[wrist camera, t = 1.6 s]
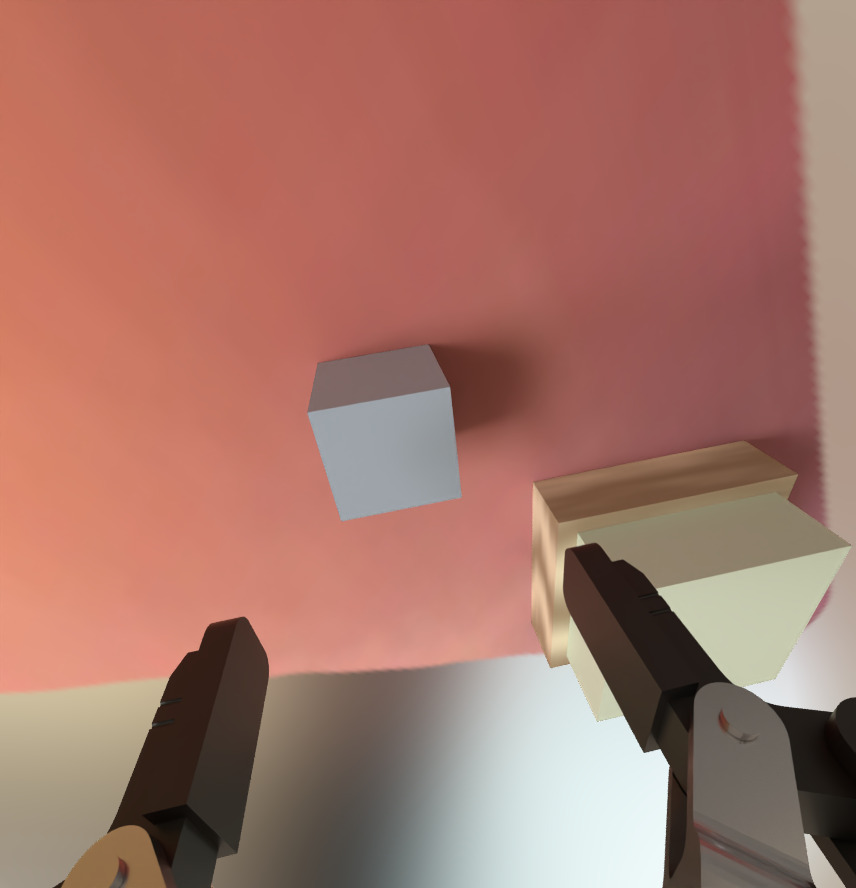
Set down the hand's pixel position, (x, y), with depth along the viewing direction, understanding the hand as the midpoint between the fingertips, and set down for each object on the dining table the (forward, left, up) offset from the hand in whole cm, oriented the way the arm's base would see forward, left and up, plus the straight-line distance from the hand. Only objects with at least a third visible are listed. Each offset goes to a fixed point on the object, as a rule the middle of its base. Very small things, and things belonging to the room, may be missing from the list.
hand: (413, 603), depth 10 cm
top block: (+13, +14, -8) cm, 20 cm away
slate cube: (0, 0, -11) cm, 11 cm away
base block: (+13, +14, -12) cm, 22 cm away
